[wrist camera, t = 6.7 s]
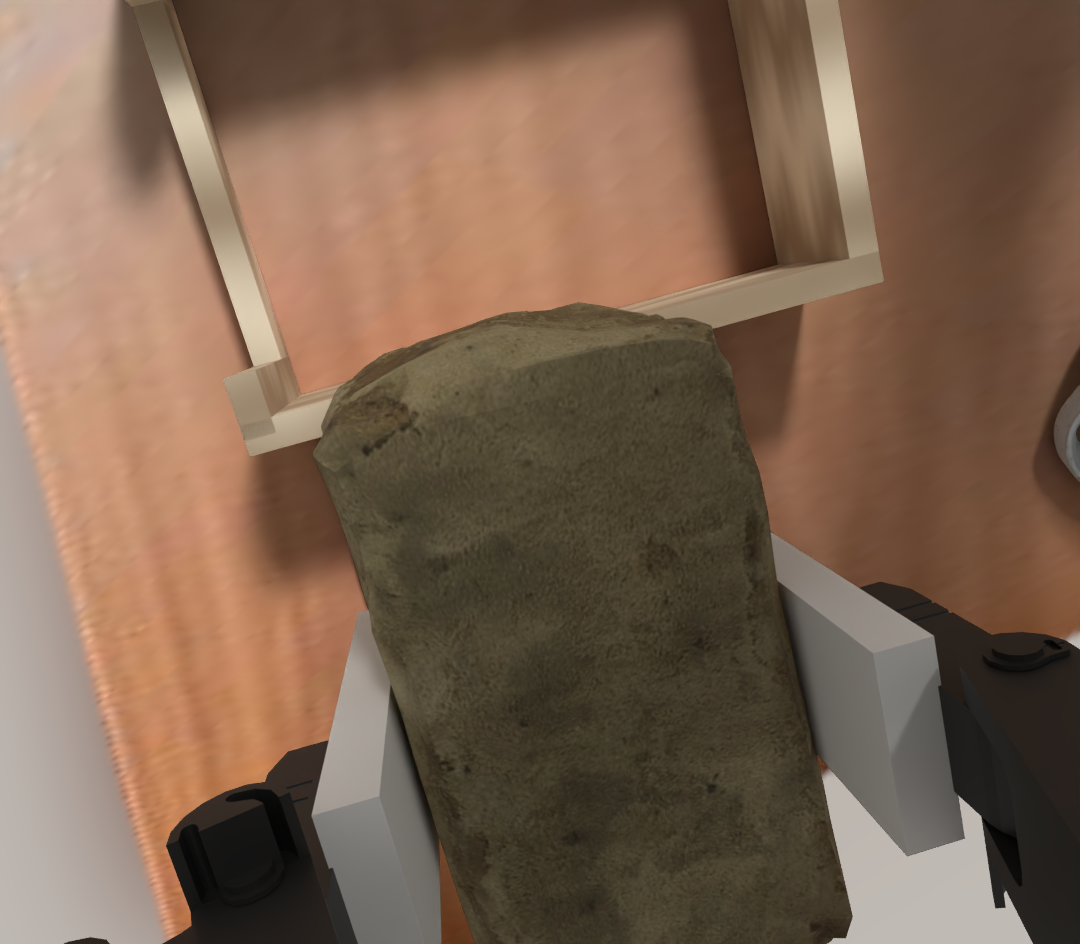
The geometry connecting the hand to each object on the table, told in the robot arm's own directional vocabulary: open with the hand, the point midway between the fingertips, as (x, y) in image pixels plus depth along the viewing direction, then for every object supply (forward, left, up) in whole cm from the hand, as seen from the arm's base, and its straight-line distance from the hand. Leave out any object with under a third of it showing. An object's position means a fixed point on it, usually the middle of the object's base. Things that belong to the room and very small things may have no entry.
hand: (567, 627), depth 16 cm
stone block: (0, 0, -1) cm, 1 cm away
